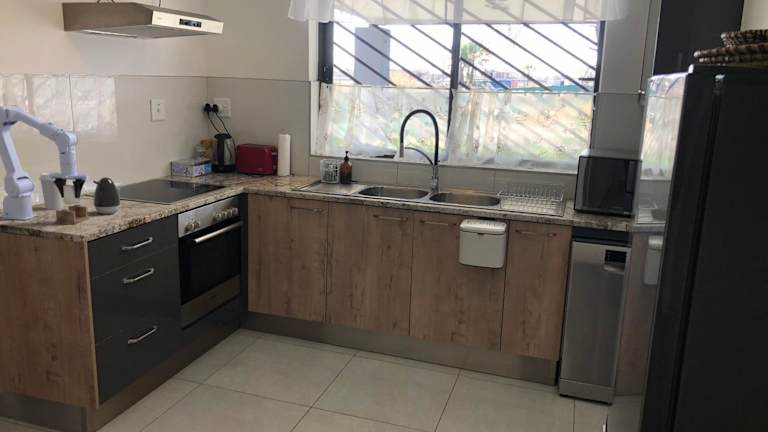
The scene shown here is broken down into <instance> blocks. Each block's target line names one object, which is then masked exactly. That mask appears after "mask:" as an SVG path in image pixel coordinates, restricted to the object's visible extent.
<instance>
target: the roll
mask: <svg viewBox="0 0 768 432" xmlns="http://www.w3.org/2000/svg"><path fill="white" fill-rule="evenodd" d="M63 190H64V198H63V201H64V202H63V204H66V205H78V204H80V203H79V202H80V201H79V200H80V198H78V199H76V198H75V189H74V185H73V183H72V184H70V183H69V184H66V185H63Z"/></svg>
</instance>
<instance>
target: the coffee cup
mask: <svg viewBox="0 0 768 432" xmlns="http://www.w3.org/2000/svg"><path fill="white" fill-rule="evenodd" d="M52 173H54V174H61V172H56V171H55V172H54V171H53V172H43V173H41V174H40V175H39V178H38V179H39V181H40V184H41V185H40V186H41V191H42V196H43V202H44V207H45V209H46V210H47V211H48V210H50V211H52V210H53V211H57V210H62V209H64V206H63V205H64V202H63V201H64V198H62V197H61V194H60V192H59V190H58V188H57V186H56V185H55V183H54V181H55V179H50V176H49V174H52Z"/></svg>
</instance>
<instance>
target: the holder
mask: <svg viewBox="0 0 768 432" xmlns="http://www.w3.org/2000/svg"><path fill="white" fill-rule="evenodd" d="M67 207H68V208H62V209H57V210H55V216H56V217H55V218H56V220H54V224H55V225H57V224H58V225H73V226H75V225H78V224H79V223H82V222H84V221H86V220H87V221H88V220H90V215H88V207H87V206H86V205H85V206H82V204H73V205H68V206H67Z"/></svg>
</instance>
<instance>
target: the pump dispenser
mask: <svg viewBox="0 0 768 432" xmlns="http://www.w3.org/2000/svg"><path fill="white" fill-rule="evenodd" d="M92 183H94V184H96V187H95V190H94V194H93V195H94V196H93V206H94V207H95V210H96V212H98V213H99V214H101V215H112V214H115V213H116V212H117V211H119V208H120V206H121V199H120V194H119V191H118V188H117V186H116V184H115V183H114V181H113V180H112V178H109V177H106V176H105V177H101V178H100V179H99V180H98V181H97V180H93V182H92Z"/></svg>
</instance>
